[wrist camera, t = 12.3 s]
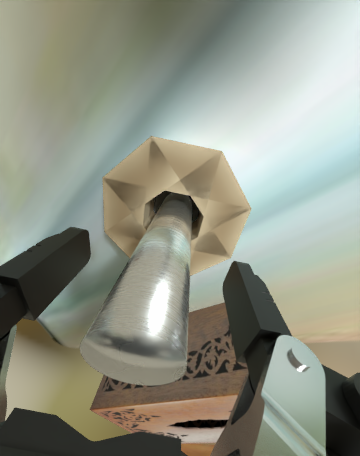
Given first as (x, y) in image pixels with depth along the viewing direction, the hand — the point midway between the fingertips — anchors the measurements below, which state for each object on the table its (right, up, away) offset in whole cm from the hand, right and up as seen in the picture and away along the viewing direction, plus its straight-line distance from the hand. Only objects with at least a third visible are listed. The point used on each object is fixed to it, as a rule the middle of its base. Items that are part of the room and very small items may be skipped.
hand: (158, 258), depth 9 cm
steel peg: (+1, +4, +8) cm, 9 cm away
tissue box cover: (+5, -18, +20) cm, 27 cm away
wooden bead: (+1, +4, +8) cm, 9 cm away
